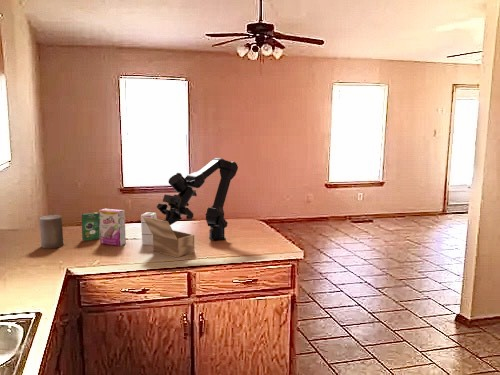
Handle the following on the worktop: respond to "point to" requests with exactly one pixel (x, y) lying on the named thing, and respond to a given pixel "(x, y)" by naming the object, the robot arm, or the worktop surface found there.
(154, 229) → the flap
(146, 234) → the syrup box
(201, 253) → the worktop surface
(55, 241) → the pillar candle
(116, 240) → the candy bar box
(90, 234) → the coffee box
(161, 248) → the light wood open box
